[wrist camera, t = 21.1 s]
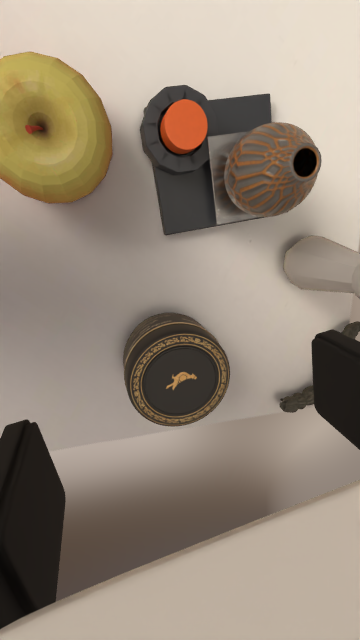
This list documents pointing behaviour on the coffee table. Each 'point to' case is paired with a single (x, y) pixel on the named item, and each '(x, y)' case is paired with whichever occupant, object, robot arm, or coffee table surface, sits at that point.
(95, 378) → the coffee table surface
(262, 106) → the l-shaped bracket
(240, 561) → the robot arm
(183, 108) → the button
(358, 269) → the salt shaker
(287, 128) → the vase
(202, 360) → the jar
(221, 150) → the plate
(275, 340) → the coffee table surface
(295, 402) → the toy
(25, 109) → the apple
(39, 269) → the coffee table surface
